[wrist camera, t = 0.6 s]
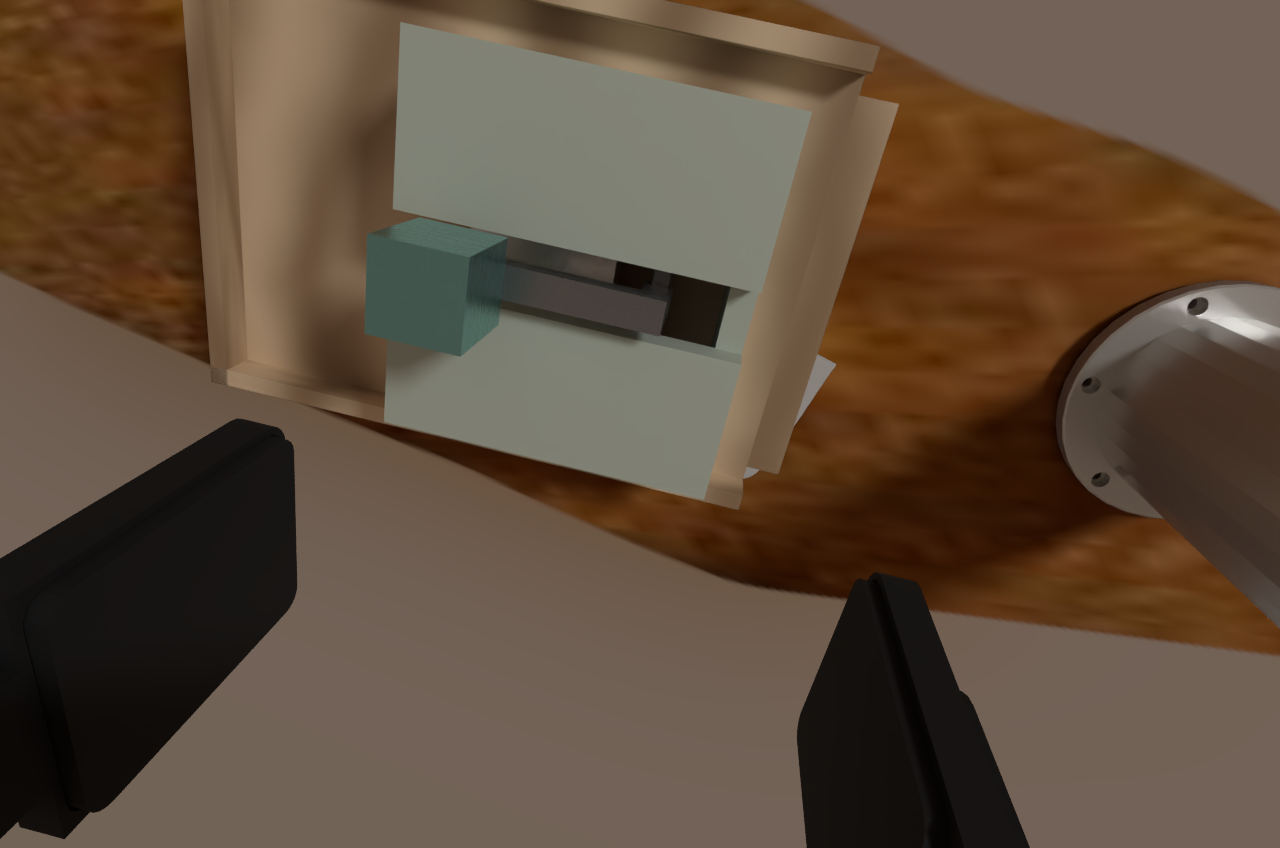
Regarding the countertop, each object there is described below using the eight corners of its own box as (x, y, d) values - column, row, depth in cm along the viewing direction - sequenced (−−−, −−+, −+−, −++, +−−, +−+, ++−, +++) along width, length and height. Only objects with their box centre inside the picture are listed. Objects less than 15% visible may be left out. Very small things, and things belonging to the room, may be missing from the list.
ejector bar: (707, 151, 27) (689, 169, 17) (655, 386, 31) (618, 499, 22) (496, 105, 27) (370, 98, 18) (473, 342, 31) (361, 436, 22)
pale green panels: (798, 113, 26) (811, 111, 21) (710, 438, 32) (703, 499, 27) (467, 40, 26) (400, 21, 21) (441, 373, 32) (383, 421, 27)
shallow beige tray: (878, 71, 31) (923, 55, 23) (764, 438, 39) (770, 517, 31) (310, -52, 32) (174, -105, 24) (313, 331, 40) (211, 381, 33)
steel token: (636, 190, 28) (628, 195, 26) (610, 329, 30) (602, 342, 29) (493, 158, 28) (476, 160, 26) (479, 299, 31) (463, 310, 29)
